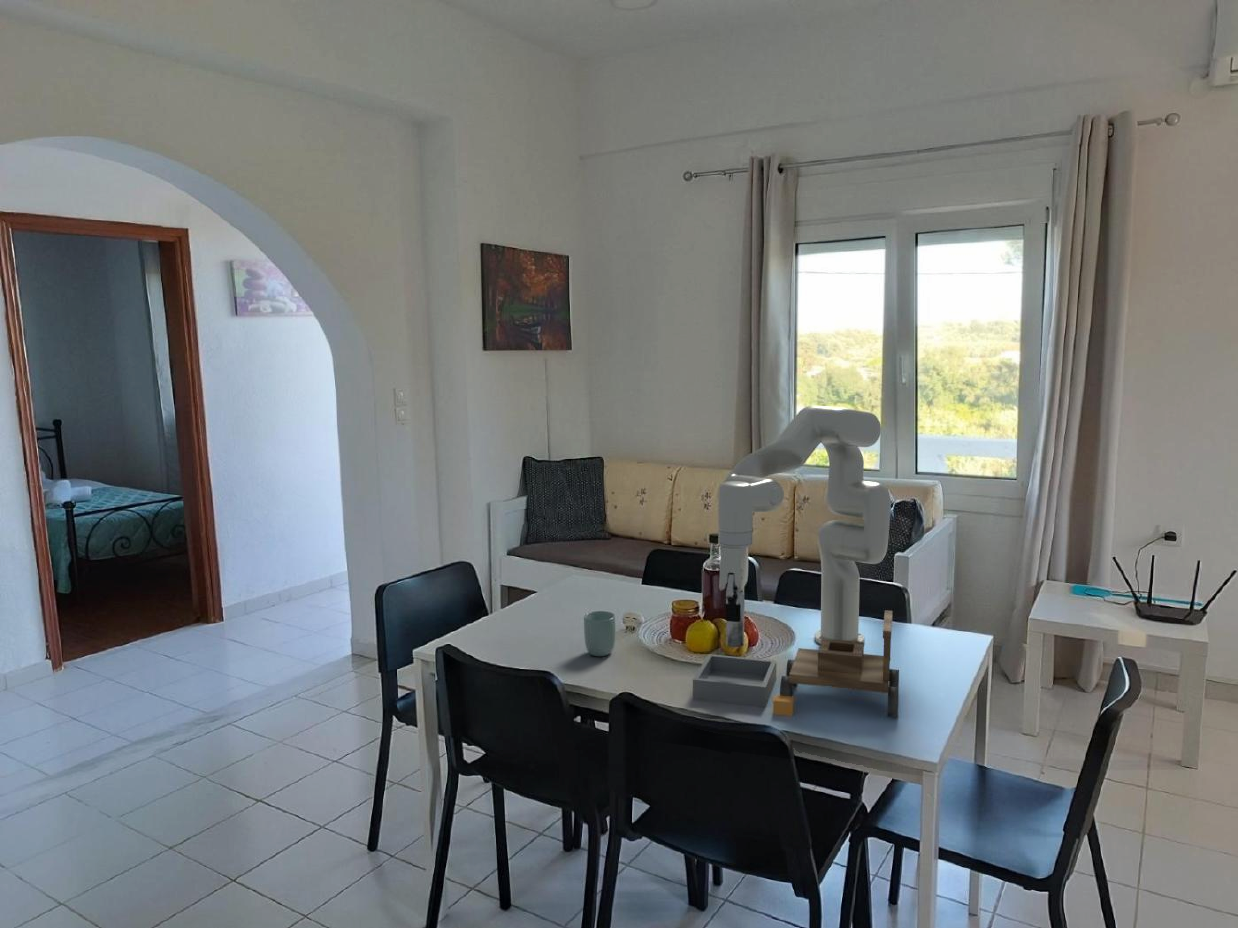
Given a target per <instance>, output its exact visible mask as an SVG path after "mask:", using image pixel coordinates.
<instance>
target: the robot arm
mask: <svg viewBox="0 0 1238 928" xmlns="http://www.w3.org/2000/svg"><path fill="white" fill-rule="evenodd" d="M881 433H882V427H881V422H880V419H879V418H878V417H877V415H876V414H874V413H872V412H869V411H863V410H858V409H853V408H849V407H840V406H825V405H824V406H822V405H810V406H809V405H808V406H806V407H804V408H802V409H800V410H799V412H797V414H796V415H795V416H794V417H793V419H792V420H791V421H790V422H789V424H787V426H786V427H785V429H784V430H783V431H782V432H781V434H780V435H779V436H778V437H777V438H776V440H775V441H773V442H772V443H769V444H767V445H765V446H763V447H761V448H759V449H758V450H755V451H754V452H752V453H750V454H748V455H747V456H745V457H743V458H742V459H741V460H739V461H738V462H737V464H736V465H735V466H734V467H733V468H732V469H731V470H730V472H729V474H728V475H727V476H726V477H725V480H724V481H723V482H722V483H721V484H720V485H719V487H718V496H717V497H718V500H717V501H718V504H717V505H718V506H717V507H718V510H717V511H718V512H717V513H718V519H717V520H718V522H717V523H718V526H717V527H718V530H717V531H718V533H717V534H718V535H717V537H718V539H717V541H718V542H717V543H718V546H720V547H721V551H720V562H719V564H720V565H719V579H718V580H719V583H718V589H719V590H720V591H721V592H723V591H724V590H725V588H726V593H725V596H726V597H725V622H726V621H731V622H740V620H741V604H739V596H740V591H743V592H744V593H745V586H746V585H747V583H748V579H749V578H748V577H749V548H751V547H752V546H753V545H754V544H753V543H754V541H753V539H754V538H753V537H754V535H753V534H754V532H753V530H754V523H753V521H754V513H769V512H773V511H776V510H777V509H778V508H779V507H780V506H781V505H782V503H783V501H784V498H785V492H784V489H783V487H782V485H781V484H780V483H779V482H778V481H776V480H775V479H774V480H773V479H772V478H767V477H769V476H773V475H778V474H782V473H786V472H790V471H793V470H796V469H799V468H801V467H803V466H804V465H805V463H806V462H807V461H808V459H809V458H810V457H811V455H812V454H813V453H814V452H815V451H816V449H817V447H819V445H821V444H822V446H823V447H824V449H825V451H826V454H827V457H828V463H829V464H828V479H827V494H826V495H827V497H826V505H827V508H828V510H829V511H830V512H831V513H832V514H835V515H837V516H838V515H839V516H842V517H850V518H856V519H862V520H863V523H858V522H854V521H846V520H836V519H834V520H829V521H826V522H825V523H823V524H822V525H821V527H820V528H819V530H818V533H817V544H818V545H817V546H818V549H819V551H818V552H819V555H820V566H821V567H820V568H821V578H820V579H821V581H820V582H821V583H820V585H821V590H820V595H821V597H820V600H821V601H820V630H818V631H816V632H815V633H814V640H815V642H816V643H818V644H819V645H820V643H821V640H822V639H833V640H845V641H856V642H864V643H865V636H864V635H863V634H862V633H861V632H859V631H860V630H859V619H860V618H859V617H860V616H859V615H860V614H859V613H860V578H861V577H860V572H859V569H858V566H857V565H856V562H857V563H861V564H862V563H863V564H870V565H875V564H876V565H877V564H879V563H881V562H882V561H883V560H884V559H885V556H886V555H887V551H888V545H889V534H890V523H891V511H892V499H891V498H892V497H891V494H890V491H889V489H888V488H887V487H886V486H885V485H884V484H883V483H879V482H876V481H871V480H870V481H869V480H864V466H865V465H864V461H865V460H864V457H863V453H862V451H861V450H860V448H869V447H872V446H874V445H875V444H876V443H877V442H878V440H879V439H880V436H881ZM734 593H736V596H735V595H734Z"/></svg>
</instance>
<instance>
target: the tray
mask: <svg viewBox="0 0 1238 928" xmlns="http://www.w3.org/2000/svg"><path fill="white" fill-rule="evenodd" d="M776 681H777V660H772V659H765V658H763V659H761V658H753V657H752V658H751V657H742V656H732V655H731V656H730V655H723V654H722V655H721V654H712V653H711V654H709V653H708V654H707V656H706V658H705V659H704V661H703V662H702V664H701V666H700V668H699V669H698V670H697V672H696V673H695V675H694V677H693V678H692V699H693V700H698V701H707V702H715V703H716V702H718V703H725V704H733V705H734V704H736V705H743V706H744V705H745V706H751V707H762V708H767V705H768V702H769V700H770V697H771V694H772V692H773V689H774V687H775V684H776Z"/></svg>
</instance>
